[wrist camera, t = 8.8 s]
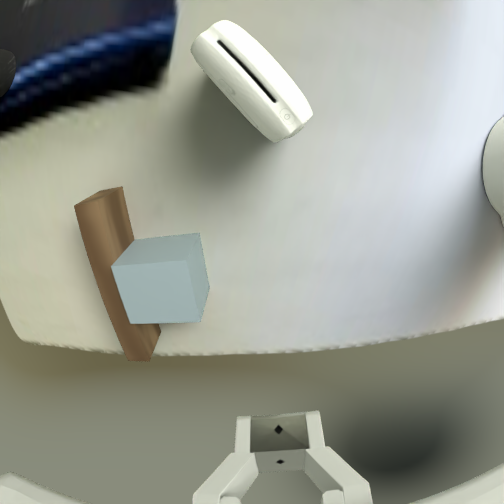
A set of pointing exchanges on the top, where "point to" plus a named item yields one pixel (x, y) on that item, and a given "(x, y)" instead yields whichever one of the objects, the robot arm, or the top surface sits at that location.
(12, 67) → the travel mug
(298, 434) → the robot arm
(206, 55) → the photo printer
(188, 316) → the slate block
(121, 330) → the stop board
